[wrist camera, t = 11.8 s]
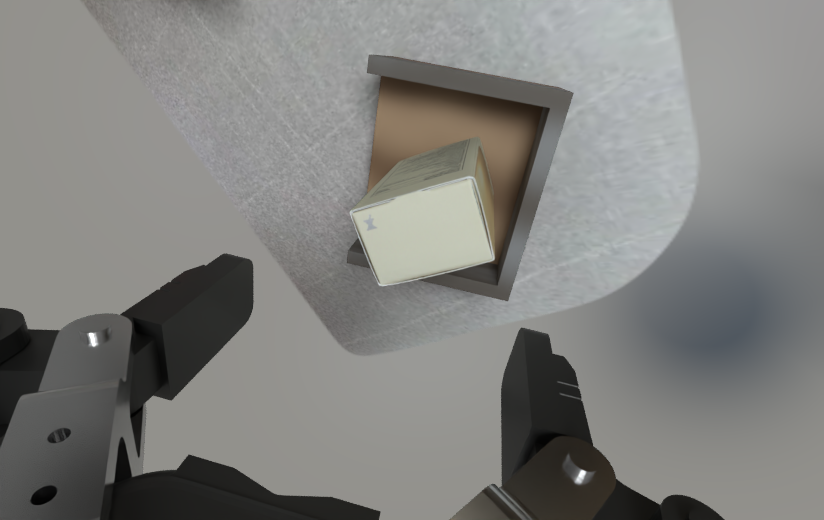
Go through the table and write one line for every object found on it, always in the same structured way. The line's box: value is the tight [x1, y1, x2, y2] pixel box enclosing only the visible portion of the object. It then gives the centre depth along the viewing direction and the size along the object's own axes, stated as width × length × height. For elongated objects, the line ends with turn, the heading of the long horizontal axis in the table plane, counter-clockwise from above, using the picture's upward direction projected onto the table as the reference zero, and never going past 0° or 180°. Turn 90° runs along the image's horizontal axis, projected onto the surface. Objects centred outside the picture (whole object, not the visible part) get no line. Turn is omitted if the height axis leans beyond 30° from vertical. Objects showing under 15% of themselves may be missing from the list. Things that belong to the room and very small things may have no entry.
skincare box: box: [350, 137, 495, 286], centre depth 25 cm, size 6×4×12 cm
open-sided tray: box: [347, 55, 573, 301], centre depth 30 cm, size 14×12×6 cm
